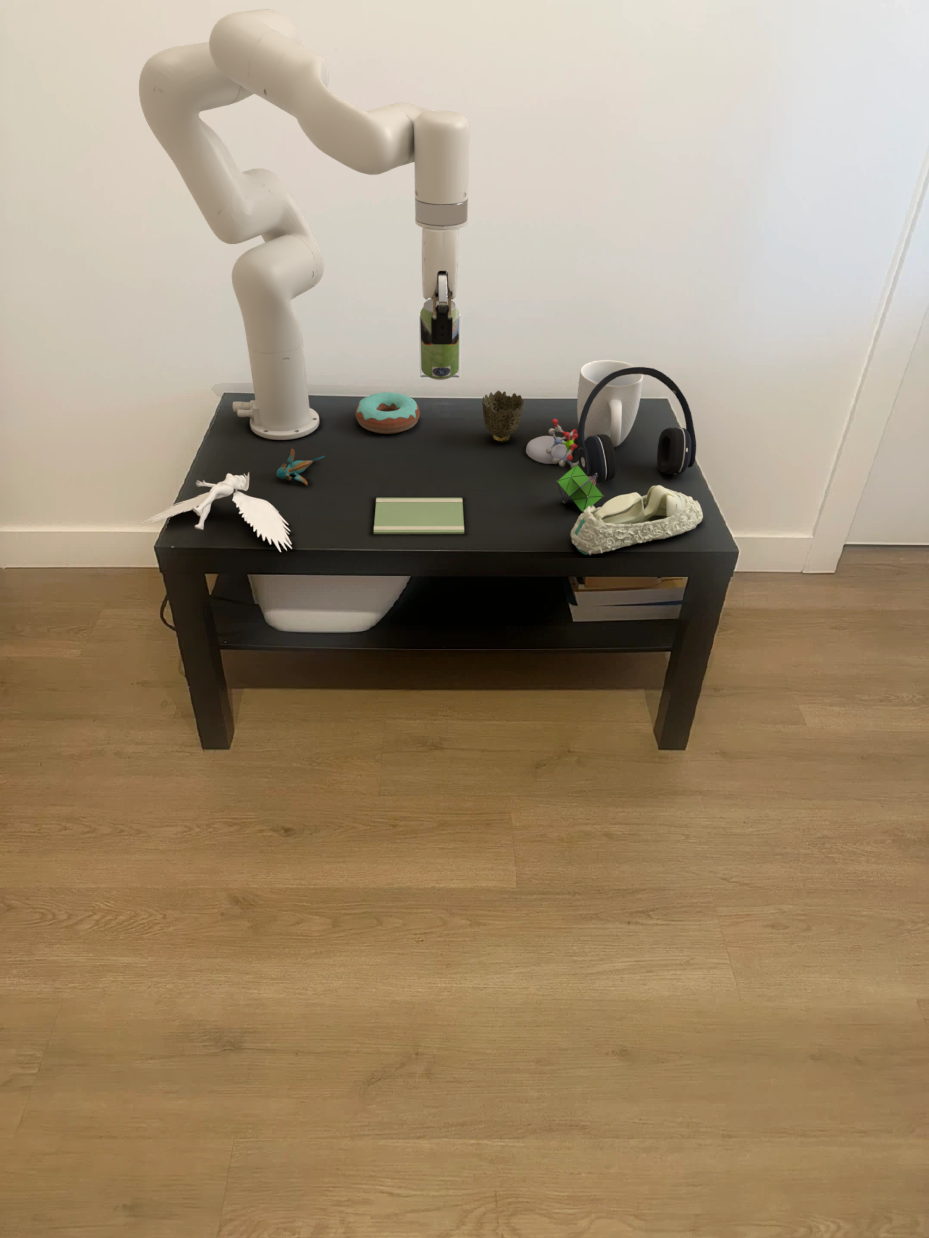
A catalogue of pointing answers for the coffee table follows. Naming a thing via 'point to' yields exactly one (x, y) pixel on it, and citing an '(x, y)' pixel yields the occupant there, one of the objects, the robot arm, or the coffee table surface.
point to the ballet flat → (635, 520)
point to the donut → (387, 413)
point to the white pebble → (539, 446)
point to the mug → (609, 400)
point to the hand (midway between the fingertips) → (440, 334)
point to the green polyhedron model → (580, 488)
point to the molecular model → (568, 444)
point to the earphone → (672, 445)
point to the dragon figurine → (294, 468)
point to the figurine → (252, 508)
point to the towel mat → (419, 516)
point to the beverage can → (438, 346)
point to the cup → (502, 415)
